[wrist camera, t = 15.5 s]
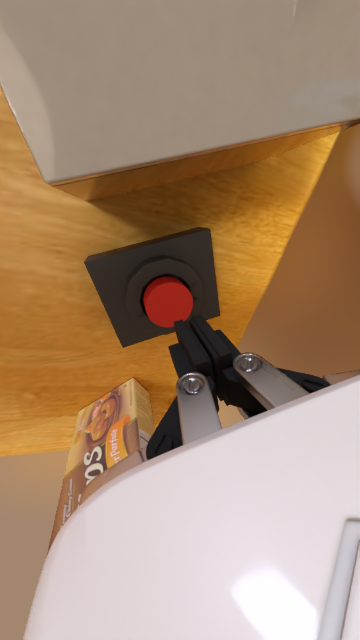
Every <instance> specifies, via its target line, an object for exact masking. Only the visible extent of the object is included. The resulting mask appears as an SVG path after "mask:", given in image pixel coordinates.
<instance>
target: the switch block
mask: <svg viewBox="0 0 360 640" xmlns="http://www.w3.org/2000/svg"><path fill="white" fill-rule="evenodd" d="M84 263H85V265H86V268H87V270H88V272H89V274H90V276H91V279H92V281H93V283H94V285H95V287H96V290H97V292H98V294H99V296H100V298H101V301H102V303H103V305H104V307H105V309H106V312H107V314H108V316H109V318H110V320H111V323H112V325H113V327H114V329H115V331H116V334H117V336H118V338H119V340H120V343H121V345H122V347H123V348H124V347H127V346H130V345H133V344H136V343H139V342H142V341H145V340H148V339H151V338H154V337H157V336H160V335H163V334H169V333H172V332H175V327H174V326H173V327H162V326H159V325H156V324H155V323H153V322H152V321H151V320H150V319H149V317H148V315H147V313H146V309H145V306H144V301H143V297H144V293H145V290H146V288H147V287H148V285H149V284H150V283H151V282H153V281H154V280H156V279H158V278H161V277H173V278H176V279H178V280H179V281H181V282H182V283H183V284H184V285H185V286H186V288H187V289H188V290H189V291H190V293H191V295H192V298H193V308H192V311H191V313H190V315H189V316H188V318H187V319H186V320H185V321H187V322H188V324H189V319H191V316H194V315H197V314H201V315H202V317H203V318H204V319H205V320H208V319H211V318H214V317H217V316H220V310H219V302H218V293H217V285H216V276H215V268H214V259H213V251H212V242H211V234H210V229H208V228H201V227H198V228H194V229H190V230H186V231H183V232H179V233H175V234H171V235H167V236H164V237H160V238H156V239H152V240H148V241H145V242H141V243H137V244H133V245H129V246H126V247H122V248H118V249H114V250H110V251H107V252H103V253H99V254H95V255H91V256H88V258H87V259H86V261H85V262H84ZM189 326H190V325H189Z"/></svg>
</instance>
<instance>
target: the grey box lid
mask: <svg viewBox="0 0 360 640" xmlns="http://www.w3.org/2000/svg"><path fill="white" fill-rule="evenodd" d="M0 87H1V89H2V91H3V93H4V95H5V98H6V100H7V102H8V104H9V106H10V108H11V111H12V113H13V115H14V117H15V119H16V121H17V124H18V126H19V128H20V130H21V132H22V135H23V137H24V139H25V141H26V143H27V145H28V148H29V150H30V152H31V154H32V156H33V158H34V161H35V163H36V165H37V167H38V169H39V171H40V174H41V176H42V178H43V180H44V182H45V183H46V184H48V185H51V186H55V185H60V184H65V183H70V182H74V181H79V180H84V179H89V178H93V177H98V176H103V175H107V174H112V173H117V172H122V171H126V170H131V169H136V168H140V167H145V166H150V165H155V164H159V163H164V162H169V161H174V160H178V159H183V158H188V157H192V156H197V155H202V154H207V153H211V152H216V151H221V150H225V149H230V148H235V147H240V146H244V145H249V144H254V143H258V142H263V141H268V140H273V139H277V138H282V137H287V136H292V135H296V134H301V133H306V132H310V131H315V130H320V129H325V128H329V127H334V126H339V125H343V124H348V123H353V122H358V121H360V0H0Z"/></svg>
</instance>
